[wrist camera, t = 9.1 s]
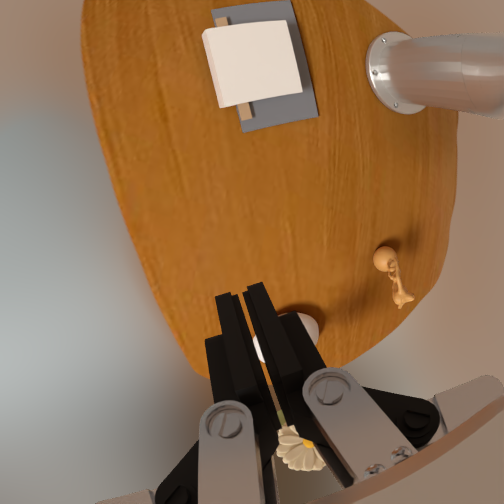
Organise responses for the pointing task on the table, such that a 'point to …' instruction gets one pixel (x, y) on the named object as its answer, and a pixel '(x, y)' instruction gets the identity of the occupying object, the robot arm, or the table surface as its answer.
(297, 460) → the flower in vase
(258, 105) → the charcoal mat
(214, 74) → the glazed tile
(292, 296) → the table surface
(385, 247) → the figurine
